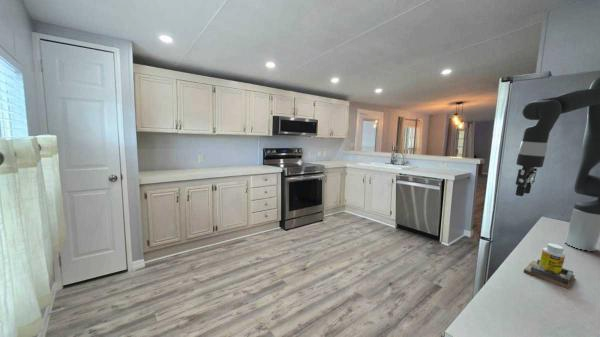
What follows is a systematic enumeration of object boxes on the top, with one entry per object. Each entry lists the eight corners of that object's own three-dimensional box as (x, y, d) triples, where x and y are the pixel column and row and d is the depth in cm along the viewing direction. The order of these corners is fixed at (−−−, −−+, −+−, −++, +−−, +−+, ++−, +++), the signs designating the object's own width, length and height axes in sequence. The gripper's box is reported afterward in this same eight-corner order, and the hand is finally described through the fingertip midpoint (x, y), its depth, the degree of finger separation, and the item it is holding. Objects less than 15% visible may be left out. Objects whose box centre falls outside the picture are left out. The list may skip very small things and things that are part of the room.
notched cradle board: (532, 262, 93) (533, 256, 93) (574, 277, 84) (575, 271, 84) (523, 271, 87) (524, 265, 86) (567, 289, 78) (569, 282, 77)
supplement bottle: (544, 274, 84) (550, 247, 82) (534, 266, 89) (540, 240, 87) (564, 278, 82) (571, 251, 80) (553, 269, 87) (559, 243, 85)
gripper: (540, 155, 85) (530, 199, 88) (549, 154, 93) (540, 194, 96) (513, 153, 91) (504, 194, 94) (524, 152, 99) (515, 190, 102)
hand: (522, 194), depth 95 cm, fingers open, 8 cm apart
